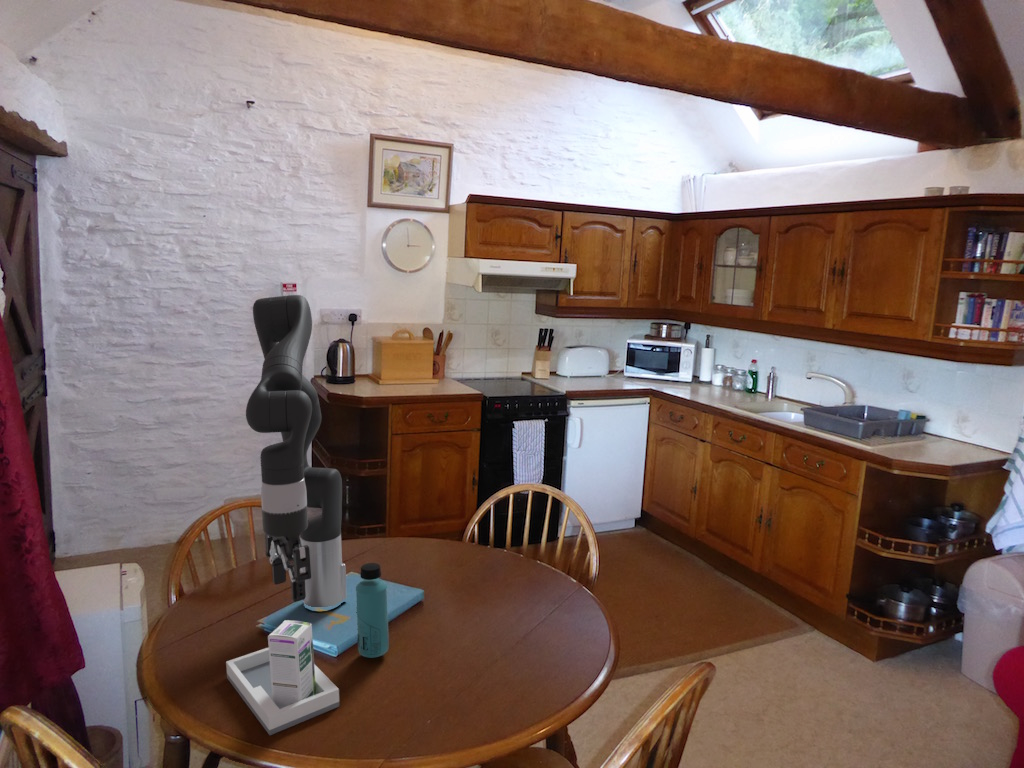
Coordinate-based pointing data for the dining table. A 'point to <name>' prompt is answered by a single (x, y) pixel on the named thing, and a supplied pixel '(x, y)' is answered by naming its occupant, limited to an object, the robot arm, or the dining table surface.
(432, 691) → the dining table surface
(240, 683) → the white shallow tray
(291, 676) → the syrup box
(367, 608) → the beverage bottle
